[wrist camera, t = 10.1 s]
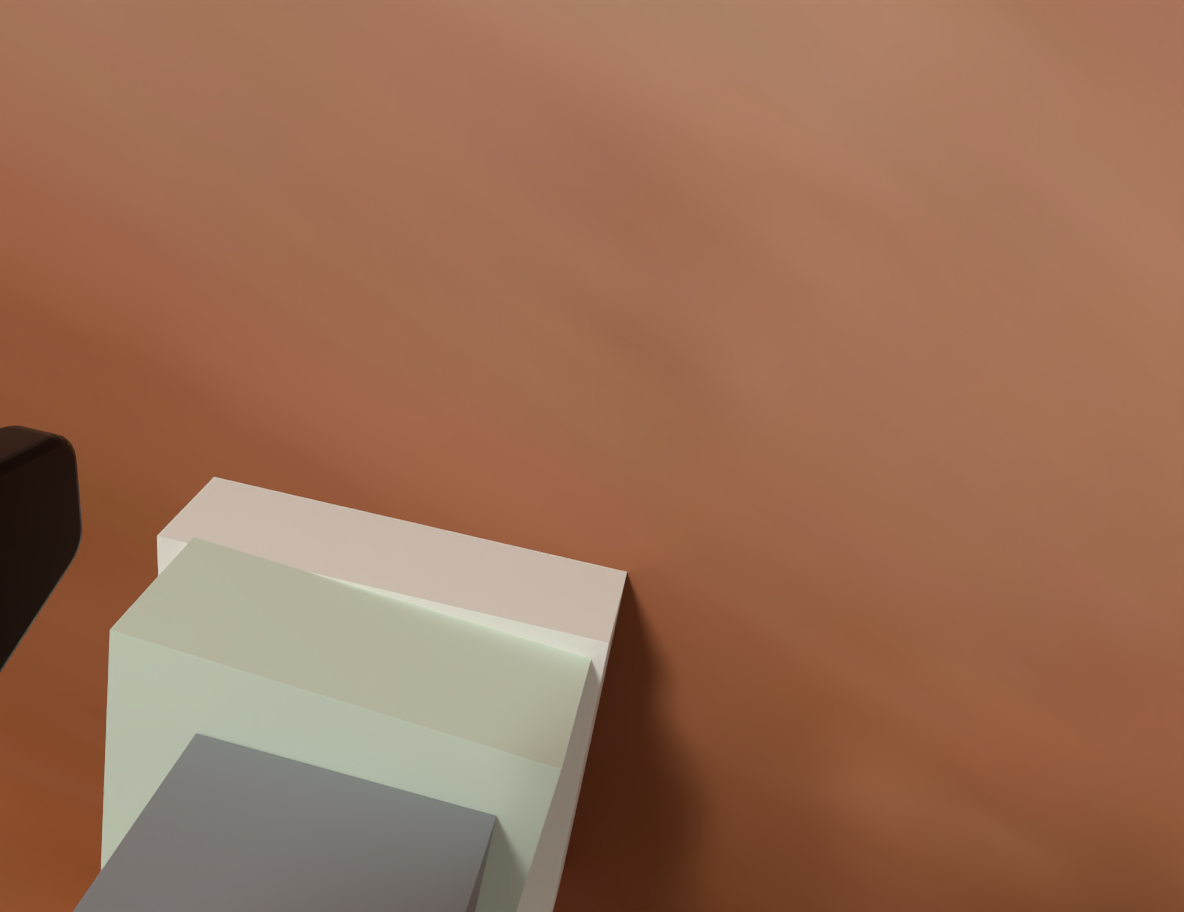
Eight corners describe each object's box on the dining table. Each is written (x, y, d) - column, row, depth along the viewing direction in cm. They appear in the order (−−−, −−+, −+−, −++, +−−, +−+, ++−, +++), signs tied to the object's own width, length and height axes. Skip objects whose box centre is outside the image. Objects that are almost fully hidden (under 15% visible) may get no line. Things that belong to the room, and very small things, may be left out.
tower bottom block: (630, 557, 24) (609, 642, 21) (567, 851, 28) (542, 952, 26) (226, 464, 24) (156, 535, 22) (225, 765, 29) (167, 856, 26)
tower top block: (590, 658, 21) (561, 769, 19) (507, 925, 25) (472, 1048, 23) (193, 536, 22) (110, 629, 19) (170, 820, 26) (98, 929, 23)
